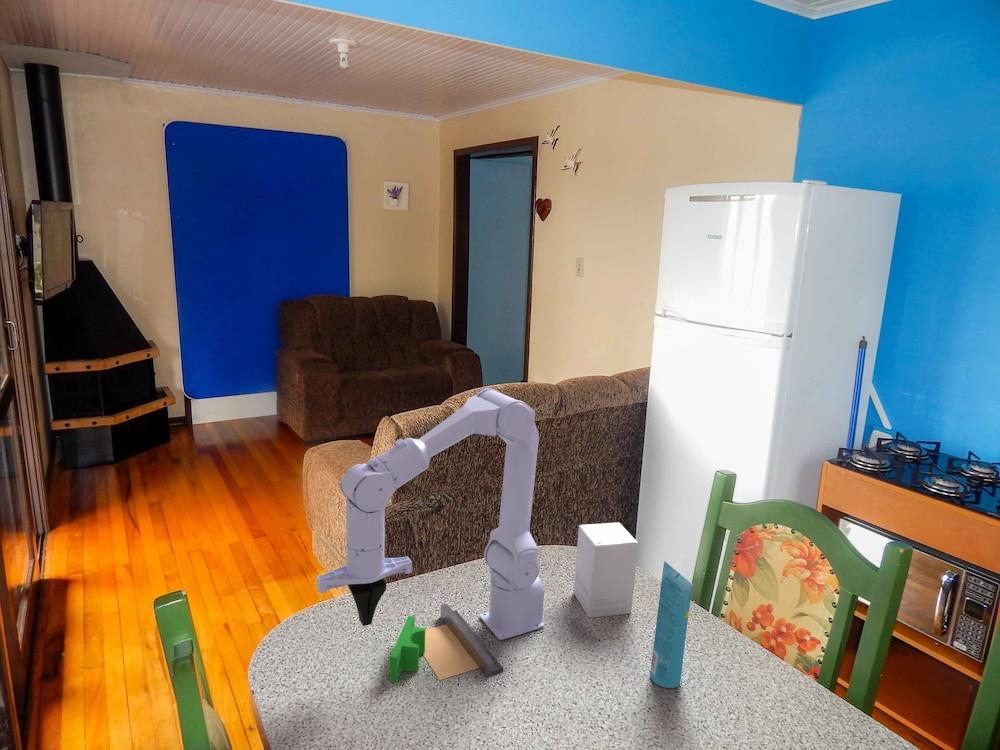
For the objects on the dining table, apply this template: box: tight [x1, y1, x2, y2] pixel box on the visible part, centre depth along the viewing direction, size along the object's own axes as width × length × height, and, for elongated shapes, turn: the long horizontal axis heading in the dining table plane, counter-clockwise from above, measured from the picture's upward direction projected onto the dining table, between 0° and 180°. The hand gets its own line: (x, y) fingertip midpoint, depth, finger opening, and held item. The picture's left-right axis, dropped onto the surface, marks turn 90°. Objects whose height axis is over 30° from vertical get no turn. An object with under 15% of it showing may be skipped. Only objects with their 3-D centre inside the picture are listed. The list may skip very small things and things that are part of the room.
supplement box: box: [573, 522, 639, 619], centre depth 125 cm, size 9×9×15 cm
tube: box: [649, 560, 694, 689], centre depth 104 cm, size 7×5×19 cm, turn 26°
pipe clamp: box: [389, 615, 426, 683], centre depth 107 cm, size 11×4×5 cm, turn 173°
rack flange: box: [422, 603, 504, 681], centre depth 111 cm, size 10×18×2 cm, turn 29°
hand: (365, 621), depth 102 cm, fingers closed
